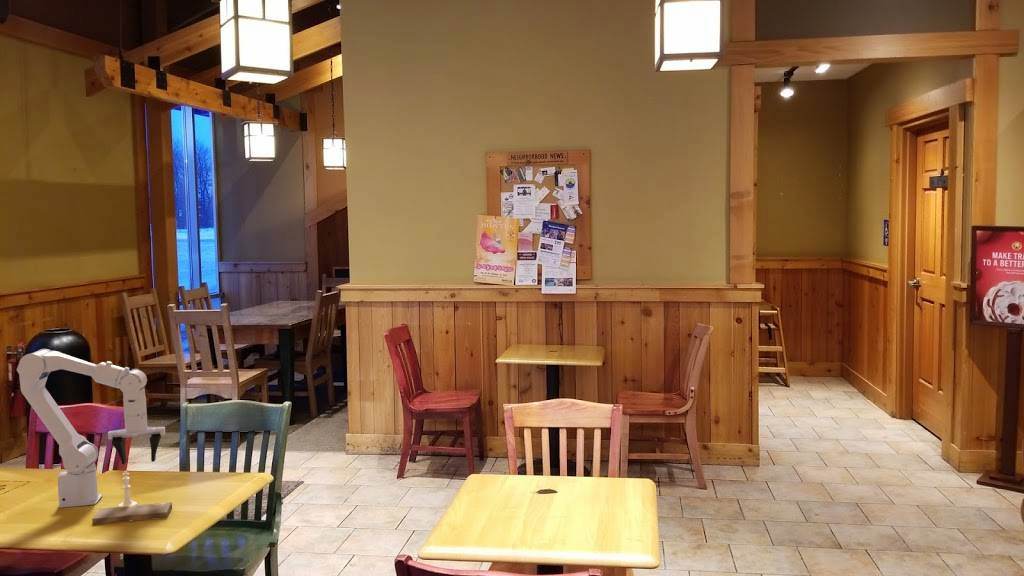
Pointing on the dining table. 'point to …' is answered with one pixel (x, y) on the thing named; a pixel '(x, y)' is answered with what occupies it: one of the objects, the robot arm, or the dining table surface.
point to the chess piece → (126, 492)
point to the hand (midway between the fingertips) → (138, 462)
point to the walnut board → (132, 513)
